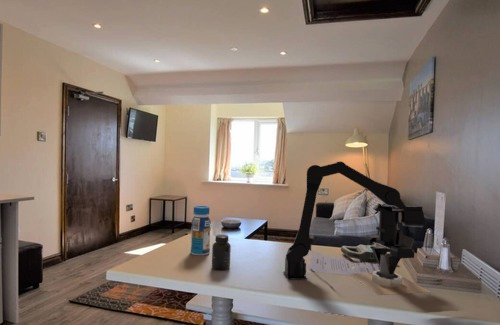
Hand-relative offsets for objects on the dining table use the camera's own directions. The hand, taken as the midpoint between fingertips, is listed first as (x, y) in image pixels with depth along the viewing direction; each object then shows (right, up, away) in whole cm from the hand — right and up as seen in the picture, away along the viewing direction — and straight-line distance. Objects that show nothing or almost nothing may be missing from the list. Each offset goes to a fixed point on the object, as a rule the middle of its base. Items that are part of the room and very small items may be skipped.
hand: (386, 271), depth 103 cm
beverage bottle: (-67, -3, +31) cm, 74 cm away
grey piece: (+4, -6, +30) cm, 30 cm away
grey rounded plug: (0, -4, 0) cm, 4 cm away
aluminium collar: (0, -4, 0) cm, 4 cm away
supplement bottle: (-56, -3, +12) cm, 58 cm away
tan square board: (0, -5, 0) cm, 5 cm away
